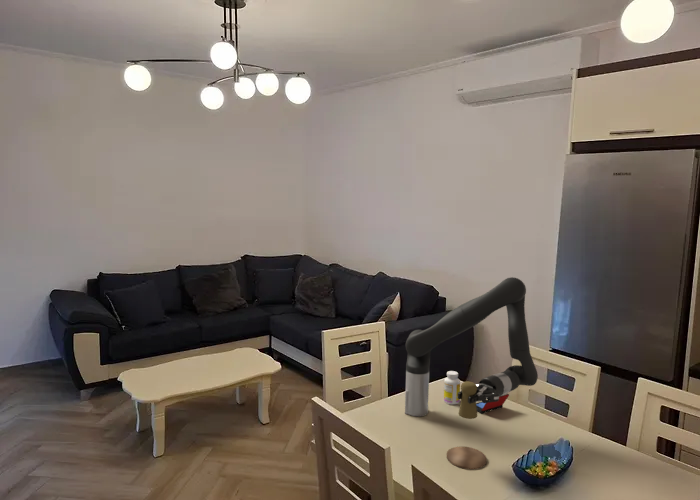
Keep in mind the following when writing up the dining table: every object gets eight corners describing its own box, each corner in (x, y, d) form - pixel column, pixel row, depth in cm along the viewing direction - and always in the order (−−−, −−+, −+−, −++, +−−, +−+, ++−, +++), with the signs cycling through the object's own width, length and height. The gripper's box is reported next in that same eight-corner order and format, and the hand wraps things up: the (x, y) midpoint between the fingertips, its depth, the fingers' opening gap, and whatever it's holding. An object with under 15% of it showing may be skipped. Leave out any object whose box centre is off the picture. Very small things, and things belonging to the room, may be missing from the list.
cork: (477, 419, 160) (479, 387, 159) (458, 417, 161) (459, 385, 160) (476, 411, 166) (478, 380, 165) (458, 409, 167) (459, 378, 166)
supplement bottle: (457, 398, 214) (458, 369, 213) (461, 405, 207) (462, 375, 206) (441, 398, 214) (442, 370, 212) (445, 405, 207) (446, 375, 206)
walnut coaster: (448, 467, 159) (448, 465, 159) (445, 447, 172) (445, 445, 172) (489, 470, 158) (489, 468, 158) (483, 450, 171) (483, 447, 171)
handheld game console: (489, 401, 212) (490, 385, 211) (509, 411, 203) (510, 393, 202) (467, 407, 205) (468, 390, 205) (487, 417, 196) (488, 399, 195)
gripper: (479, 369, 177) (447, 380, 166) (513, 381, 166) (482, 394, 155) (478, 389, 177) (446, 402, 167) (512, 403, 166) (481, 417, 156)
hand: (463, 398), depth 161 cm, fingers closed on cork, 3 cm apart
